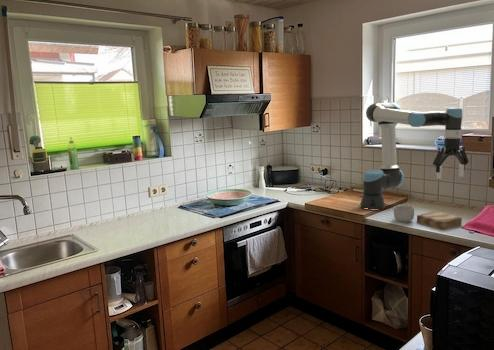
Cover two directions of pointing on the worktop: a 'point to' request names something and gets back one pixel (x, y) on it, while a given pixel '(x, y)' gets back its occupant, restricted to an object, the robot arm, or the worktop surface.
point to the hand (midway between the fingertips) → (449, 177)
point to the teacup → (404, 213)
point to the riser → (439, 220)
